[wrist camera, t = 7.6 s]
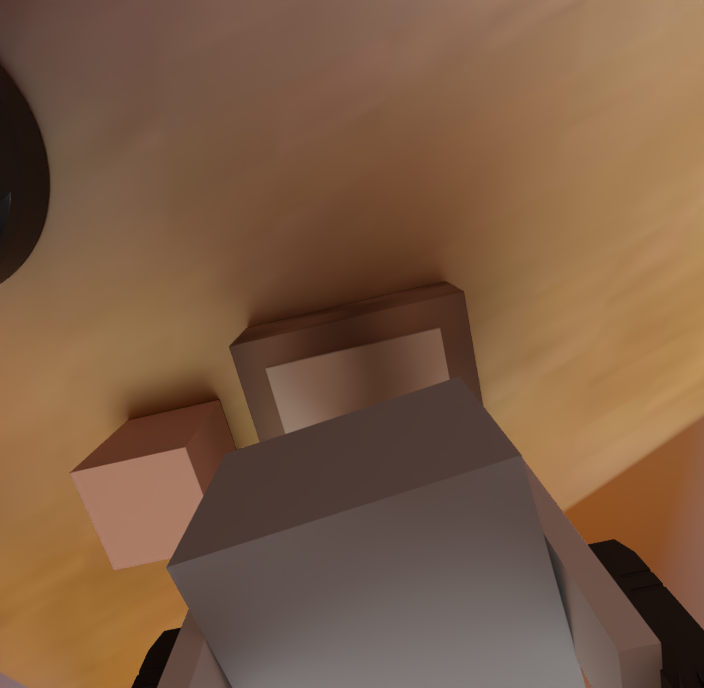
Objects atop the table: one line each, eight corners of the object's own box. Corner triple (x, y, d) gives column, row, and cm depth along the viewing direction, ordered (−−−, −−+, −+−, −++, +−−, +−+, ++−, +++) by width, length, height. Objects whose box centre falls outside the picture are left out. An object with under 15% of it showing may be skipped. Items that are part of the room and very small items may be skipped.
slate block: (311, 636, 16) (298, 806, 12) (225, 454, 14) (166, 567, 10) (519, 574, 16) (596, 726, 11) (459, 376, 14) (521, 454, 9)
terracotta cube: (160, 501, 29) (114, 570, 23) (127, 420, 28) (69, 472, 22) (247, 482, 29) (222, 547, 23) (219, 399, 27) (185, 447, 22)
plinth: (291, 473, 29) (282, 515, 25) (246, 328, 26) (228, 347, 22) (473, 434, 28) (494, 469, 24) (445, 281, 26) (464, 292, 21)
